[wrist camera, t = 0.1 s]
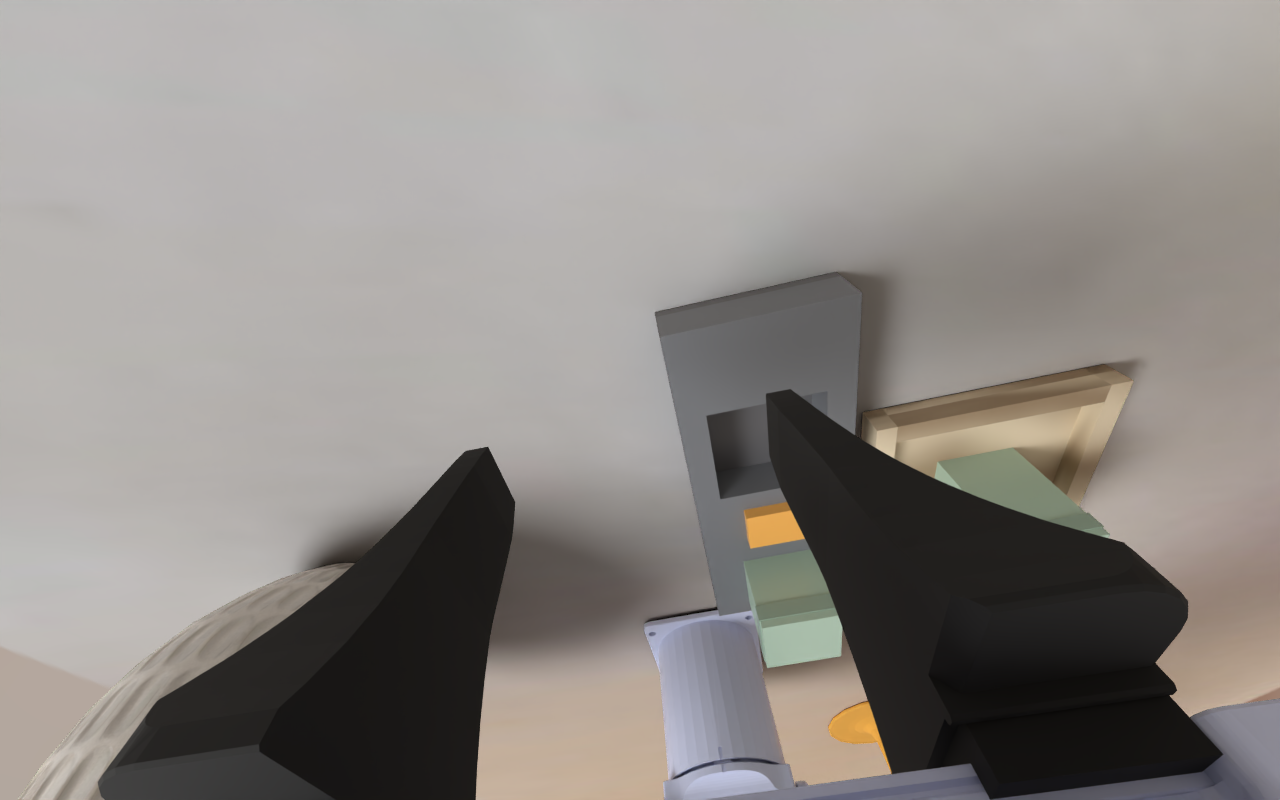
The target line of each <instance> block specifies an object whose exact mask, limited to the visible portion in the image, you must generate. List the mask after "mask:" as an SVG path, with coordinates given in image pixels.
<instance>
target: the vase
mask: <svg viewBox="0 0 1280 800" xmlns="http://www.w3.org/2000/svg"><path fill="white" fill-rule="evenodd" d="M354 564H355V563H338V564H332V565H327V566H323V567H319V568H315V569H312V570H308V571H305V572H301V573H298V574H294V575H291V576H287V577H284V578H281V579H279V580H276V581H274V582H272V583H270V584H267V585H265V586H263V587H260V588H258V589H256V590H254V591H251V592H249V593H247V594H245V595H243V596H241V597H239V598H237V599H235V600H233V601H231V602H230V603H228V604H226V605H224V606H222V607H220V608H219V609H217V610H215V611H213V612H211V613H209V614H208V615H206V616H204V617H202V618H200V619H199V620H197V621H195V622H194V623H192V624H191V625H189V626H188V627H187V628H185V629H184V630H183V631H181V632H180V633H179V634H177V635H176V636H175V637H173V638H172V639H171V640H169V641H168V642H167V643H165V644H164V645H162V646H161V647H160V648H158V649H157V650H156V651H154V652H153V653H152V654H150V655H149V656H148V657H146V658H145V659H144V660H143V661H141V662H140V663H139V664H137V665H136V666H135V667H134V668H133V669H132V670H131V671H130V672H129V673H128V674H127V675H125V676H124V677H123V678H122V679H121V680H120V681H119V682H118V683H117V684H116V685H115V686H114V687H113V688H112V689H111V690H110V691H109V692H107V693H106V694H105V695H104V696H103V697H102V698H101V699H100V700H99V701H98V702H97V703H96V704H95V705H94V706H93V707H92V708H91V709H89V711H88V712H87V713H86V714H85V715H84V716H83V718H82V719H81V720H80V721H79V722H78V723H77V725H76V726H75V727H74V728H73V729H72V730H71V732H70V733H69V734H68V735H67V736H66V738H65V739H64V740H63V741H62V742H61V743H60V744H59V746H58V747H57V748H56V749H55V750H54V752H53V753H52V754H51V755H50V756H49V757H48V759H47V760H46V761H45V762H44V763H43V764H42V766H41V767H40V769H39V770H38V771H37V773H36V774H35V776H34V777H33V778H32V780H31V781H30V783H29V784H28V785H27V787H26V788H25V790H24V791H23V792H22V794H21V795H20V797H19V798H18V799H17V800H104V799H103V798H102V797H101V794H100V791H99V787H98V781H99V779H100V778H101V776H102V774H103V773H104V772H105V770H106V769H107V768H108V766H109V765H110V764H111V762H112V761H113V760H114V758H115V757H116V756H117V754H118V753H119V752H120V750H121V749H122V748H123V746H124V745H125V744H126V742H127V741H128V739H129V738H130V737H131V735H132V734H133V733H134V731H135V730H136V729H137V727H138V726H139V724H140V723H141V722H142V720H143V719H144V717H145V716H146V715H147V713H148V712H149V711H150V709H151V708H152V706H153V705H154V704H155V703H156V702H157V701H158V700H159V699H160V698H162V697H164V696H166V695H167V694H169V693H171V692H172V691H174V690H176V689H177V688H179V687H181V686H182V685H184V684H186V683H187V682H189V681H191V680H192V679H194V678H195V677H197V676H199V675H200V674H202V673H204V672H205V671H207V670H209V669H210V668H212V667H213V666H215V665H217V664H218V663H220V662H222V661H223V660H225V659H226V658H228V657H230V656H231V655H233V654H234V653H236V652H237V651H239V650H240V649H242V648H243V647H245V646H246V645H248V644H249V643H251V642H252V641H254V640H255V639H257V638H258V637H260V636H261V635H263V634H264V633H266V632H267V631H269V630H270V629H271V628H273V627H274V626H276V625H277V624H278V623H280V622H281V621H283V620H284V619H286V618H287V617H288V616H290V615H291V614H292V613H294V612H295V611H296V610H298V609H299V608H300V607H302V606H303V605H304V604H305V603H307V602H308V601H309V600H311V599H312V598H313V597H315V596H316V595H317V594H318V593H320V592H321V591H322V590H324V589H325V588H326V587H327V586H329V585H330V584H331V583H333V582H334V581H335V580H336V579H337V578H339V577H340V576H341V575H342V574H343V573H345V572H346V571H347V570H348V569H349V568H350V567H352V566H353V565H354Z"/></svg>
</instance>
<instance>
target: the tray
mask: <svg viewBox="0 0 1280 800" xmlns="http://www.w3.org/2000/svg"><path fill="white" fill-rule="evenodd" d="M1133 382H1134V380H1132V379H1130V378H1128V377H1127V376H1125V375H1123V374H1121V373H1119V372H1118V371H1116V370H1114V369H1112V368H1110V367H1109V366H1107V365H1105V364H1103V365H1098V366H1093V367H1088V368H1083V369H1078V370H1073V371H1068V372H1063V373H1058V374H1053V375H1048V376H1043V377H1038V378H1033V379H1028V380H1023V381H1018V382H1013V383H1008V384H1003V385H998V386H993V387H988V388H983V389H978V390H973V391H968V392H963V393H958V394H953V395H948V396H943V397H938V398H933V399H928V400H923V401H918V402H913V403H908V404H903V405H898V406H893V407H888V408H883V409H878V410H873V411H868V412H863V417H862V433H861V439H862V440H863V441H865V442H867V443H868V444H870V445H872V446H873V447H875V448H877V449H879V450H880V451H882V452H884V453H885V454H887V455H889V456H891V457H893V458H894V459H896V460H898V461H900V462H902V463H904V464H906V465H908V466H910V467H912V468H914V469H916V470H918V471H920V472H922V473H924V474H926V475H928V476H930V477H932V478H935V473H936V467H937V462H939V461H944V460H949V459H954V458H960V457H965V456H970V455H975V454H981V453H986V452H991V451H997V450H1002V449H1007V448H1012V447H1013V448H1014V449H1015V450H1016V451H1017V452H1018V453H1019V454H1021V455H1022V456H1023V457H1024V458H1025V459H1026V460H1027V461H1028V462H1030V463H1031V464H1032V465H1033V466H1034V467H1035V468H1036V469H1037V470H1039V471H1040V472H1041V473H1042V474H1043V475H1044V476H1045V477H1046V478H1047V479H1049V480H1050V481H1051V482H1052V483H1053V484H1054V485H1055V486H1056V487H1058V488H1059V489H1060V490H1061V491H1062V492H1063V493H1064V494H1065V495H1067V496H1068V497H1069V498H1070V499H1071V500H1072V501H1073V502H1074V503H1076V504H1077V505H1078V506H1079V505H1080V503H1081V500H1082V498H1083V496H1084V493H1085V491H1086V489H1087V487H1088V484H1089V482H1090V480H1091V477H1092V475H1093V473H1094V471H1095V468H1096V466H1097V464H1098V462H1099V459H1100V457H1101V455H1102V452H1103V450H1104V448H1105V446H1106V443H1107V441H1108V439H1109V436H1110V434H1111V432H1112V430H1113V427H1114V425H1115V423H1116V421H1117V418H1118V416H1119V414H1120V411H1121V409H1122V407H1123V405H1124V402H1125V400H1126V398H1127V395H1128V393H1129V391H1130V389H1131V386H1132V384H1133Z"/></svg>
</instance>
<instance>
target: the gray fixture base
mask: <svg viewBox="0 0 1280 800" xmlns="http://www.w3.org/2000/svg"><path fill="white" fill-rule="evenodd" d="M861 309H862V292H861V291H859V290H858V289H857V288H856V287H854V286H853V285H852V284H851V283H850V282H848V281H847V280H846V279H845V278H843V277H842V276H841V275H840V274H838V273H837V272H834V273H830V274H825V275H821V276H816V277H812V278H807V279H803V280H798V281H794V282H789V283H785V284H780V285H776V286H771V287H767V288H762V289H758V290H753V291H749V292H744V293H740V294H735V295H731V296H726V297H722V298H717V299H713V300H708V301H704V302H699V303H695V304H691V305H686V306H682V307H677V308H673V309H668V310H664V311H659V312H655V316H656V321H657V326H658V332H659V337H660V341H661V346H662V351H663V355H664V360H665V365H666V369H667V374H668V379H669V383H670V388H671V393H672V397H673V402H674V407H675V411H676V416H677V421H678V426H679V430H680V435H681V440H682V444H683V449H684V454H685V458H686V463H687V468H688V472H689V477H690V482H691V486H692V491H693V496H694V500H695V505H696V510H697V514H698V519H699V524H700V528H701V533H702V538H703V542H704V547H705V552H706V556H707V561H708V566H709V570H710V575H711V580H712V584H713V589H714V594H715V598H716V603H717V608H718V612H719V616H723V615H729V614H735V613H740V612H746V611H752V613H753V617H754V621H755V624H756V628H757V632H758V636H759V639H760V646H761V650H762V654H763V658H764V661H765V662H766V665H767V668H771V667H777V666H783V665H789V664H796V663H802V662H808V661H814V660H820V659H827V658H833V657H839V656H841V645H842V625H841V622H840V619H839V617H838V614H837V611H836V609H835V606H834V603H833V601H832V598H831V595H830V593H829V590H828V587H827V585H826V582H825V580H824V577H823V575H822V573H821V571H820V568H819V566H818V564H817V562H816V560H815V558H814V556H813V554H812V552H811V550H810V548H809V546H808V544H807V542H806V540H805V538H804V536H803V534H802V532H801V530H800V528H799V526H798V524H797V522H796V520H795V518H794V516H793V513H792V511H791V509H790V507H789V505H788V503H787V501H786V499H785V497H784V495H783V493H782V491H781V488H780V485H779V483H778V480H777V477H776V474H775V471H774V468H773V465H772V462H771V459H770V456H769V442H768V425H767V407H766V394H767V393H772V392H777V391H782V390H787V389H791V390H792V391H794V392H795V393H797V394H798V395H799V396H801V397H802V398H803V399H805V400H806V401H807V402H809V403H810V404H811V405H813V406H814V407H815V408H817V409H818V410H820V411H821V412H822V413H824V414H825V415H826V416H828V417H829V418H831V419H832V420H833V421H835V422H836V423H838V424H839V425H841V426H842V427H844V428H845V429H847V430H848V431H850V432H851V433H853V434H854V435H855V426H856V406H857V387H858V367H859V348H860V328H861Z"/></svg>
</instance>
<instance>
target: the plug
mask: <svg viewBox="0 0 1280 800" xmlns="http://www.w3.org/2000/svg"><path fill="white" fill-rule="evenodd" d="M935 479H937V480H939V481H941V482H944V483H946V484H948V485H951V486H953V487H955V488H958V489H960V490H963V491H965V492H968V493H970V494H972V495H975V496H977V497H980V498H982V499H985V500H988V501H990V502H993V503H996V504H999V505H1001V506H1004V507H1007V508H1010V509H1013V510H1016V511H1019V512H1022V513H1025V514H1028V515H1031V516H1034V517H1037V518H1040V519H1043V520H1046V521H1049V522H1052V523H1056V524H1059V525H1063V526H1066V527H1070V528H1073V529H1077V530H1081V531H1084V532H1088V533H1091V534H1095V535H1098V536H1102V537H1105V538H1108V537H1109V536H1110V534H1109V533H1108V532H1107V531H1106V530H1105V529H1104V528H1103V527H1104V526H1103V525H1102V524H1101V523H1099V522H1098V521H1097V520H1096V519H1095V518H1094V517H1093V516H1092V515H1090V514H1089V513H1086V512H1084V511H1083V510H1082V509H1081V508H1080V507H1079V506H1078V505H1077V504H1076V503H1074V502H1073V501H1072V500H1071V499H1070V498H1069V497H1068V496H1067V495H1065V494H1064V493H1063V492H1062V491H1061V490H1060V489H1059V488H1058V487H1056V486H1055V485H1054V484H1053V483H1052V482H1051V481H1050V480H1049V479H1047V478H1046V477H1045V476H1044V475H1043V474H1042V473H1041V472H1040V471H1039V470H1037V469H1036V468H1035V467H1034V466H1033V465H1032V464H1031V463H1030V462H1028V461H1027V460H1026V459H1025V458H1024V457H1023V456H1022V455H1021V454H1019V453H1018V452H1017V451H1016V450H1015V449H1014V448H1013V447H1012V448H1007V449H1002V450H997V451H991V452H986V453H981V454H975V455H970V456H965V457H960V458H954V459H949V460H944V461H939V462H937V467H936V473H935Z"/></svg>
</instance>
